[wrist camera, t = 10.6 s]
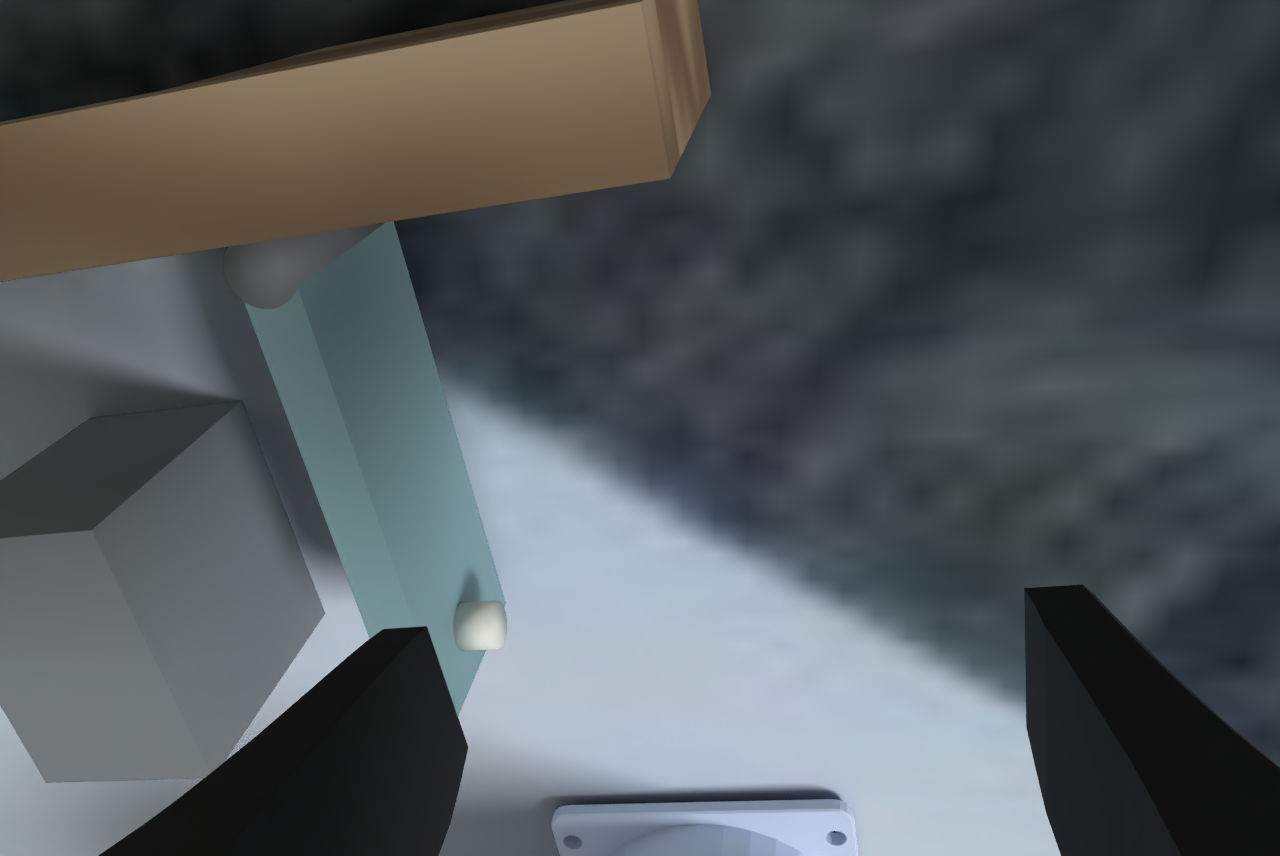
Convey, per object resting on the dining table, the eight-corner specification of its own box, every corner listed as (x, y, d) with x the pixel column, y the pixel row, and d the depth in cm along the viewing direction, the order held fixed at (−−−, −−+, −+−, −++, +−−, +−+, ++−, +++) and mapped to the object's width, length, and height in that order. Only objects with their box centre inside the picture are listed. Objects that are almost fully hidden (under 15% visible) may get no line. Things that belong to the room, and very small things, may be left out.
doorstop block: (325, 612, 25) (212, 778, 20) (187, 620, 26) (45, 782, 21) (243, 399, 22) (91, 530, 17) (92, 416, 23) (-94, 547, 18)
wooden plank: (711, 94, 18) (670, 178, 12) (-247, 258, 22) (-622, 377, 16) (693, -25, 17) (640, 2, 11) (-298, 170, 21) (-713, 263, 16)
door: (328, 178, 19) (211, 242, 15) (418, 163, 19) (322, 224, 15) (463, 603, 24) (399, 737, 20) (539, 598, 23) (488, 733, 19)
